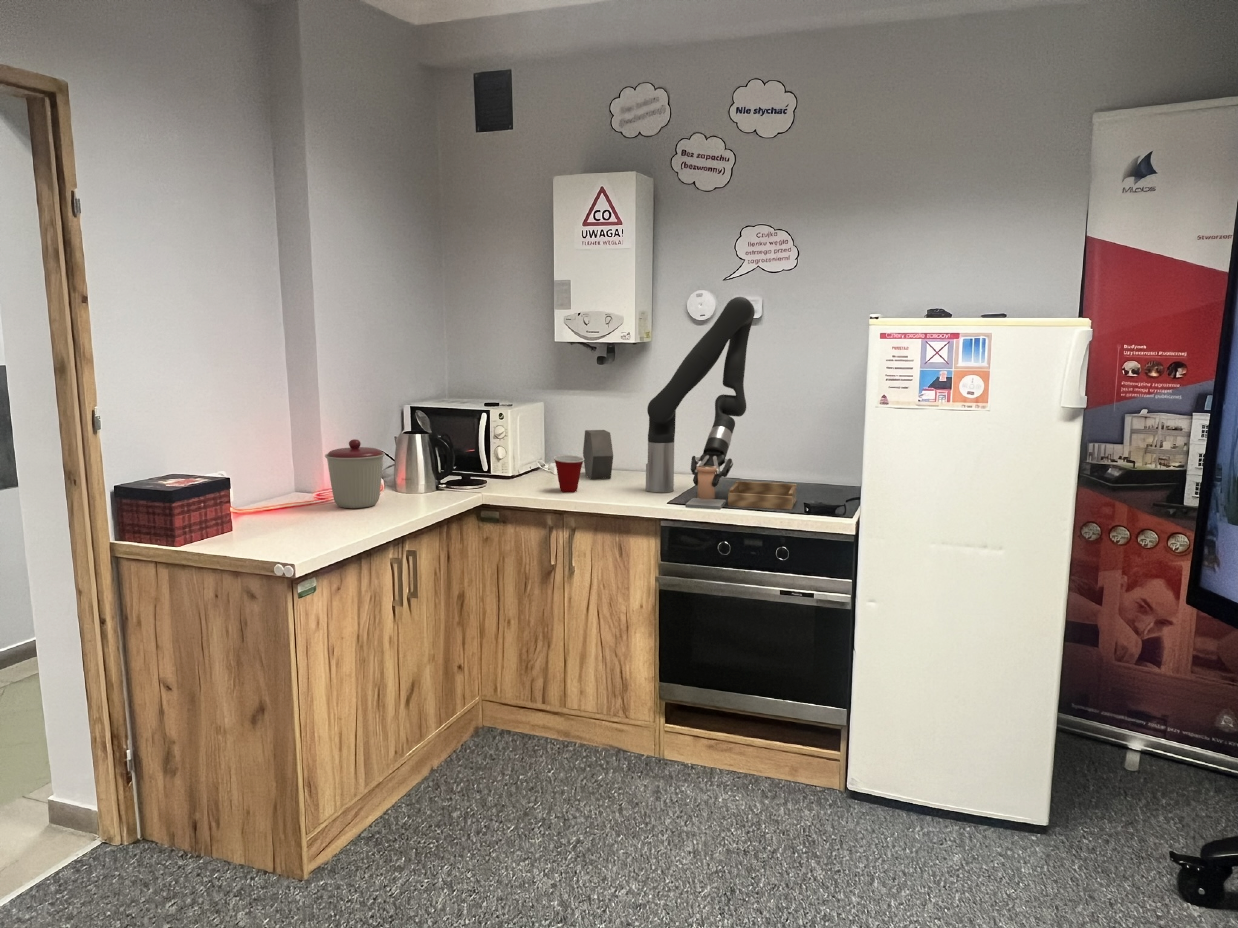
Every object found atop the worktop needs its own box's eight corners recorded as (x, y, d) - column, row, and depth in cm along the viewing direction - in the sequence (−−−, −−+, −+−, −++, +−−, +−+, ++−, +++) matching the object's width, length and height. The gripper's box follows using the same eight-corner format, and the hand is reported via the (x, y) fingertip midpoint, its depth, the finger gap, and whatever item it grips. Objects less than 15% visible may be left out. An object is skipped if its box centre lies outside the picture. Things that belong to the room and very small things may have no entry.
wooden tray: (728, 505, 279) (728, 488, 278) (735, 497, 294) (736, 480, 293) (791, 509, 273) (792, 492, 273) (795, 500, 289) (796, 484, 288)
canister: (396, 501, 282) (394, 437, 279) (368, 512, 265) (366, 443, 262) (346, 499, 286) (343, 435, 283) (315, 509, 269) (312, 441, 266)
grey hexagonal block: (615, 469, 323) (608, 419, 331) (594, 469, 321) (588, 420, 329) (606, 487, 337) (600, 439, 346) (587, 488, 336) (581, 440, 344)
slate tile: (685, 507, 276) (685, 504, 276) (692, 500, 287) (692, 498, 287) (719, 509, 273) (720, 506, 273) (725, 502, 284) (725, 499, 284)
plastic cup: (566, 495, 296) (566, 460, 294) (547, 490, 304) (547, 456, 302) (591, 491, 303) (591, 457, 301) (571, 487, 311) (571, 454, 309)
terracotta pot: (694, 498, 277) (694, 467, 276) (698, 495, 284) (698, 464, 282) (714, 499, 276) (714, 468, 274) (717, 496, 282) (718, 465, 280)
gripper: (694, 435, 287) (680, 476, 278) (736, 437, 280) (723, 479, 271) (700, 449, 292) (686, 490, 283) (741, 451, 286) (728, 493, 277)
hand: (704, 484), depth 277 cm, fingers closed on terracotta pot, 5 cm apart
